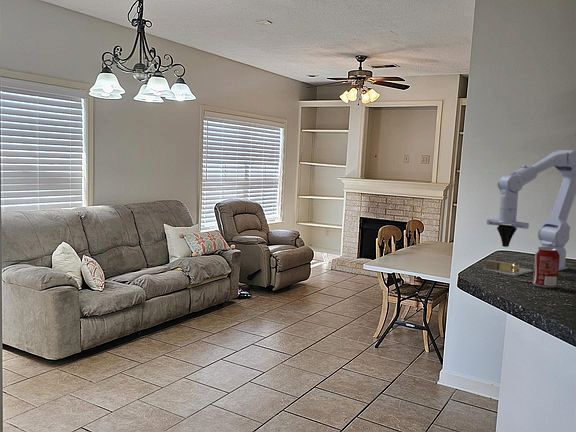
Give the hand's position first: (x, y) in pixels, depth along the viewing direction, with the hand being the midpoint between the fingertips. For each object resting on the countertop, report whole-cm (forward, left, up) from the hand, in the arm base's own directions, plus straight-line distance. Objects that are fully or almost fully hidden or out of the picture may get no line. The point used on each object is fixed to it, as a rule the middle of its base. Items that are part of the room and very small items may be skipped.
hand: (505, 246), depth 184 cm
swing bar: (+5, +2, -7) cm, 9 cm away
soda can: (+16, +21, -9) cm, 28 cm away
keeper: (+5, 0, -8) cm, 10 cm away
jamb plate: (+1, +2, -8) cm, 9 cm away
